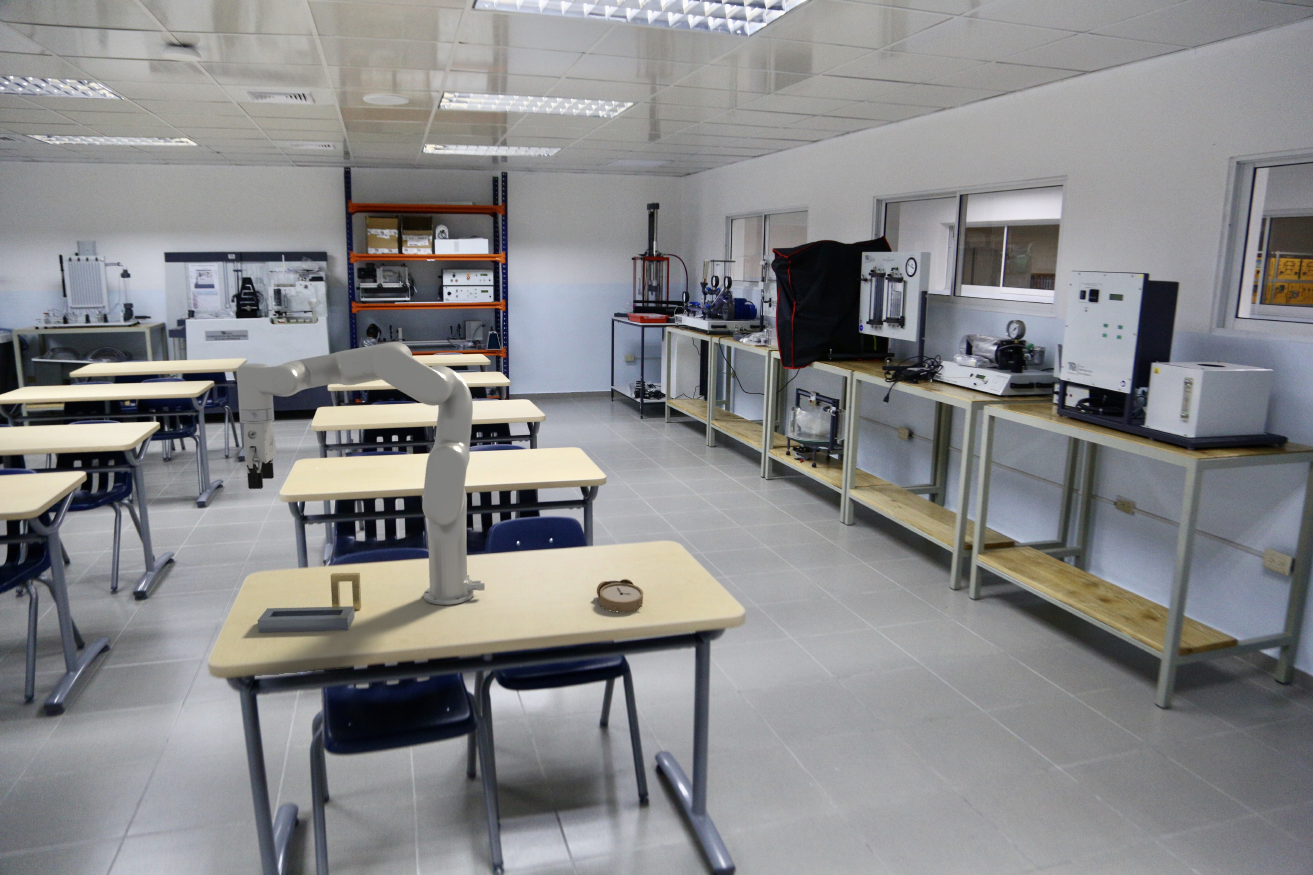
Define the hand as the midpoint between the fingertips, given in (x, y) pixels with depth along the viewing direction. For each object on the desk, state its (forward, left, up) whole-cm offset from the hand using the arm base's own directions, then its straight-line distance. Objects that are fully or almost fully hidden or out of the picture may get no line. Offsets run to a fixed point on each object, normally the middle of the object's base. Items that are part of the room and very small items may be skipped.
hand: (261, 483), depth 208 cm
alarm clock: (-88, +6, -31) cm, 94 cm away
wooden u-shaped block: (-20, +7, -31) cm, 37 cm away
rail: (-13, +16, -31) cm, 37 cm away
